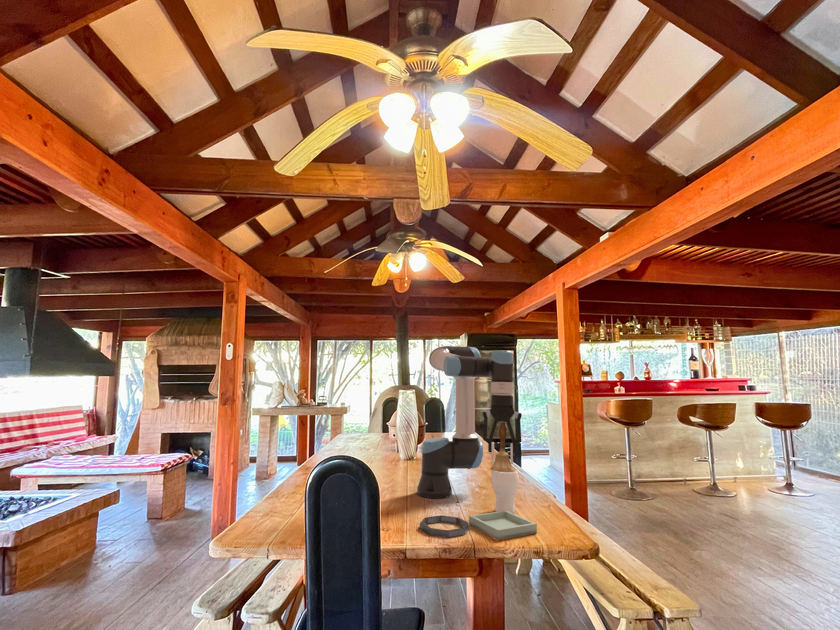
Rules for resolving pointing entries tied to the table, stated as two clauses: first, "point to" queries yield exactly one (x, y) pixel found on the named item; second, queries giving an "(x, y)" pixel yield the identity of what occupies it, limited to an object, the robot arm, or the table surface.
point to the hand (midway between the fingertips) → (502, 462)
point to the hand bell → (502, 454)
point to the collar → (444, 532)
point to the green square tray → (502, 524)
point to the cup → (505, 489)
